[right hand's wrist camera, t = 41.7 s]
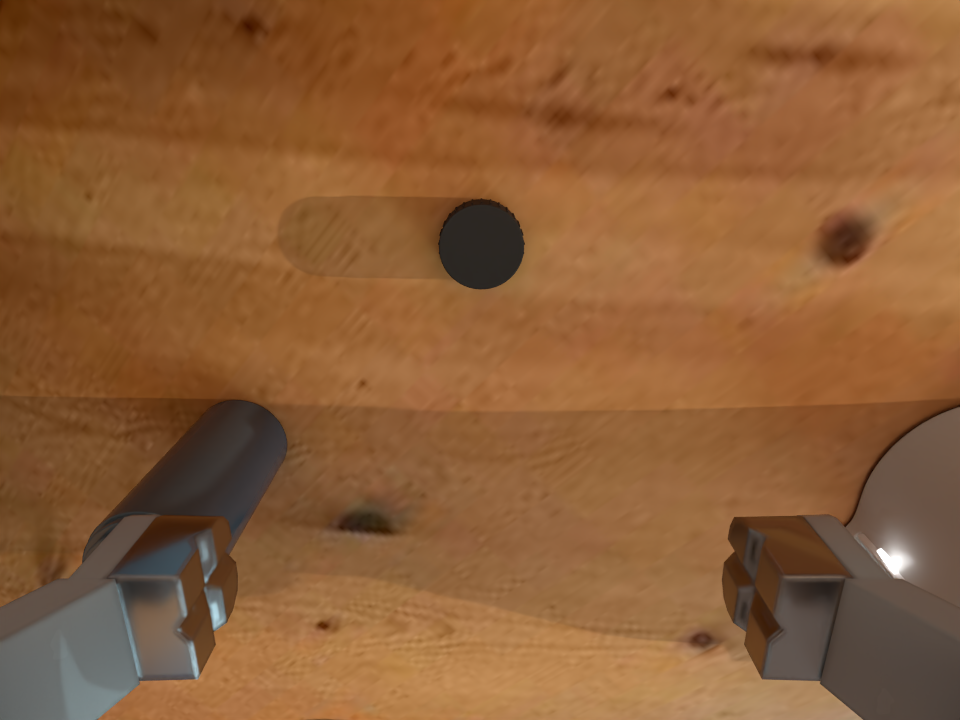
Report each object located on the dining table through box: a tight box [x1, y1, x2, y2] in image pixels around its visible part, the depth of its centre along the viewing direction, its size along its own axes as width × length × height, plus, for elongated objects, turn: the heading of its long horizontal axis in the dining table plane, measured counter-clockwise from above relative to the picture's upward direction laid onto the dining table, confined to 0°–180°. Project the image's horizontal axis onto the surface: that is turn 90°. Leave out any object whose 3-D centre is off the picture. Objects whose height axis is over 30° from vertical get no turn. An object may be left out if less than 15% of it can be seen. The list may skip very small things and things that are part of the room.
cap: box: [438, 198, 525, 289], centre depth 36 cm, size 5×5×2 cm
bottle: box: [82, 400, 287, 563], centre depth 33 cm, size 6×6×18 cm
